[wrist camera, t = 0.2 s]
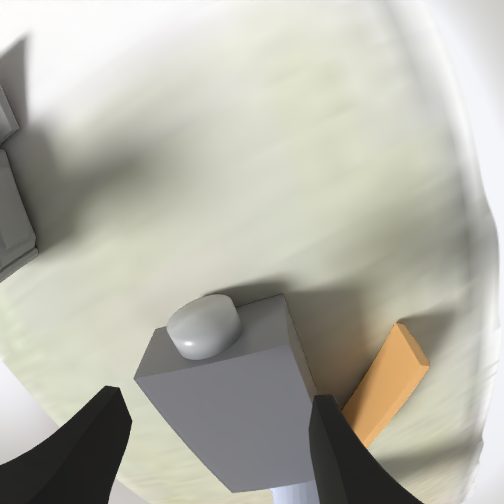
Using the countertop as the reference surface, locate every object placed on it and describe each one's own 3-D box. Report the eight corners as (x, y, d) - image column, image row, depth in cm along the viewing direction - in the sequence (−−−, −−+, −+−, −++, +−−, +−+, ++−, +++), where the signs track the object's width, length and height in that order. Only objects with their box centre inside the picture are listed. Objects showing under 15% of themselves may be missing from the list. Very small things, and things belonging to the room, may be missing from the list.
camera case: (330, 429, 25) (338, 474, 20) (235, 449, 26) (232, 492, 22) (274, 271, 19) (279, 317, 15) (144, 310, 21) (118, 357, 16)
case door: (344, 428, 25) (353, 469, 20) (329, 426, 24) (337, 469, 20) (411, 325, 20) (437, 367, 16) (394, 322, 20) (419, 365, 16)
